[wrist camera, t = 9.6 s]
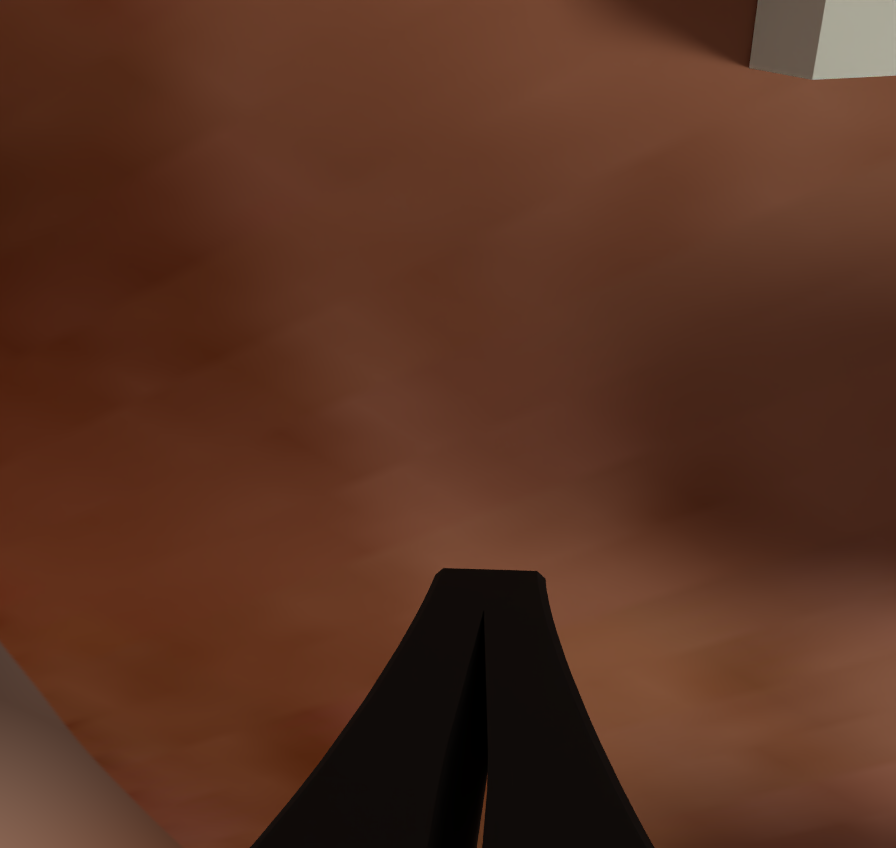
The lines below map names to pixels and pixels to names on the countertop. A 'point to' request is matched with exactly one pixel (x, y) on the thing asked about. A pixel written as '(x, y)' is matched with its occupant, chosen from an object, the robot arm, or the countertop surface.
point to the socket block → (825, 38)
